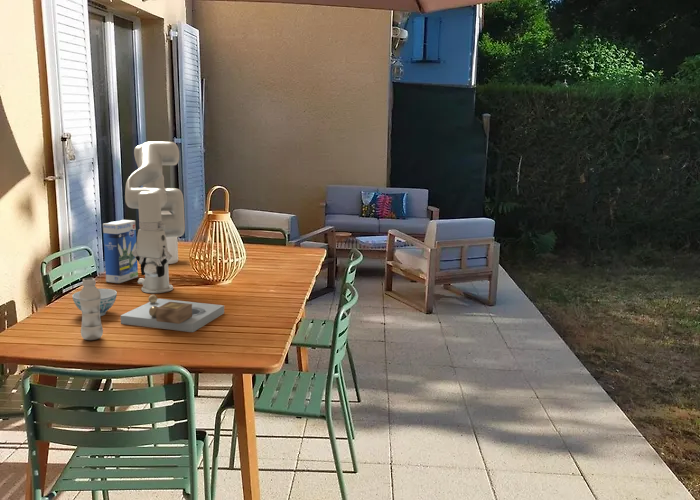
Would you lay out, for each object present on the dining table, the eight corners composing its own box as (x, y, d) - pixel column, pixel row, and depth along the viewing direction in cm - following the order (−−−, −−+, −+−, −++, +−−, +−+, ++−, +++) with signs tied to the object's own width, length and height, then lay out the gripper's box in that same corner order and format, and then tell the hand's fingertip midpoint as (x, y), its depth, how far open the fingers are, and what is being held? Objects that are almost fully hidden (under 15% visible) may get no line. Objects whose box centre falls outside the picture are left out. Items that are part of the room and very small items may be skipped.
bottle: (147, 260, 323) (145, 204, 317) (175, 258, 329) (173, 203, 323) (151, 266, 310) (149, 208, 305) (180, 263, 316) (178, 207, 311)
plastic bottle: (84, 335, 211) (81, 276, 207) (106, 335, 211) (102, 276, 207) (78, 342, 205) (74, 281, 201) (100, 342, 205) (96, 281, 201)
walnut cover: (156, 321, 217) (155, 307, 216) (170, 314, 225) (169, 301, 224) (179, 323, 215) (178, 310, 214) (192, 316, 223) (191, 303, 222)
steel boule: (140, 278, 229) (139, 262, 228) (150, 274, 235) (149, 258, 233) (155, 280, 227) (154, 263, 226) (164, 276, 233) (164, 260, 232)
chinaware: (75, 322, 224) (74, 301, 223) (72, 311, 237) (70, 291, 236) (120, 317, 231) (119, 296, 229) (114, 306, 244) (113, 286, 242)
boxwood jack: (146, 303, 238) (146, 295, 237) (151, 301, 241) (151, 293, 240) (154, 304, 237) (154, 296, 236) (159, 302, 240) (158, 294, 239)
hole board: (120, 323, 224) (120, 315, 223) (157, 305, 246) (157, 298, 245) (192, 332, 216) (192, 323, 216) (224, 313, 238) (224, 305, 238)
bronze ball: (146, 317, 221) (146, 307, 220) (153, 314, 225) (152, 304, 224) (156, 319, 220) (156, 308, 219) (162, 315, 224) (162, 305, 223)
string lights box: (119, 283, 277) (116, 224, 272) (105, 282, 279) (101, 223, 274) (138, 276, 289) (136, 220, 284) (124, 275, 291) (121, 219, 286)
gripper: (178, 226, 228) (179, 275, 232) (135, 222, 232) (137, 270, 237) (166, 229, 221) (168, 280, 225) (122, 226, 225) (125, 275, 230)
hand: (152, 274), depth 231 cm, fingers closed on steel boule, 6 cm apart
